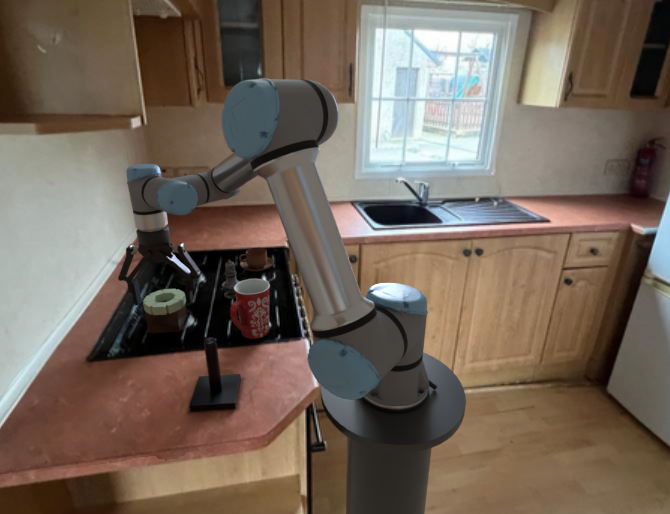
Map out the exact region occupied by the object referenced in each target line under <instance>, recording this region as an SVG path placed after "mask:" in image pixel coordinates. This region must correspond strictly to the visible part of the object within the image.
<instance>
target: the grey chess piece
mask: <svg viewBox="0 0 670 514" xmlns="http://www.w3.org/2000/svg"><path fill="white" fill-rule="evenodd" d="M224 268H225V269H224V270H225V272H224V275H225V281H223V283H222V284H221V287H222V289H223V290H224V294H223V297H224V298H226V299H236V295H235V291H234V286H235V285H236V284H237V283H239V282H241V280H238V279H237V270H236V265H235V263H234V261H231V259H228V261H227V262H225V263H224Z"/></svg>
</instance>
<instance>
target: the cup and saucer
mask: <svg viewBox="0 0 670 514" xmlns="http://www.w3.org/2000/svg"><path fill="white" fill-rule="evenodd" d="M242 257H245V258H243V259H242ZM238 259H239V261H240V263H239V265H240V268H242V269H243V270H245V271H247V272H263V271H266V270H268V269H270V268H272V267H273V266H274V264H275V260H274V259H273V258H272V257H270V256H268V250H267V249H266V248H264V247H251V248H249V249H247V250H246V251H245V253H242V254H240V255H239V257H238Z"/></svg>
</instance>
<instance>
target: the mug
mask: <svg viewBox="0 0 670 514" xmlns="http://www.w3.org/2000/svg"><path fill="white" fill-rule="evenodd" d="M270 288H271V284H270V282H269V281H267V280H266V279H261V278H248V279H244V280H240V282H239V283H237V284H236V285H235V286H234V291H235V295H236V298H235V299H236V300H235V301H233V303H232V304H231V306H230V310H229V315H230V319H231V321H232V323H233V324H234V326H235V327H237V328H238V329H239V330H240V331H241V335H242V336H243V338H246V339H250V340H257V339H260V338H263V337H265V336H267V335H268V334H269V333H270ZM238 318H239V319H238Z"/></svg>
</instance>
